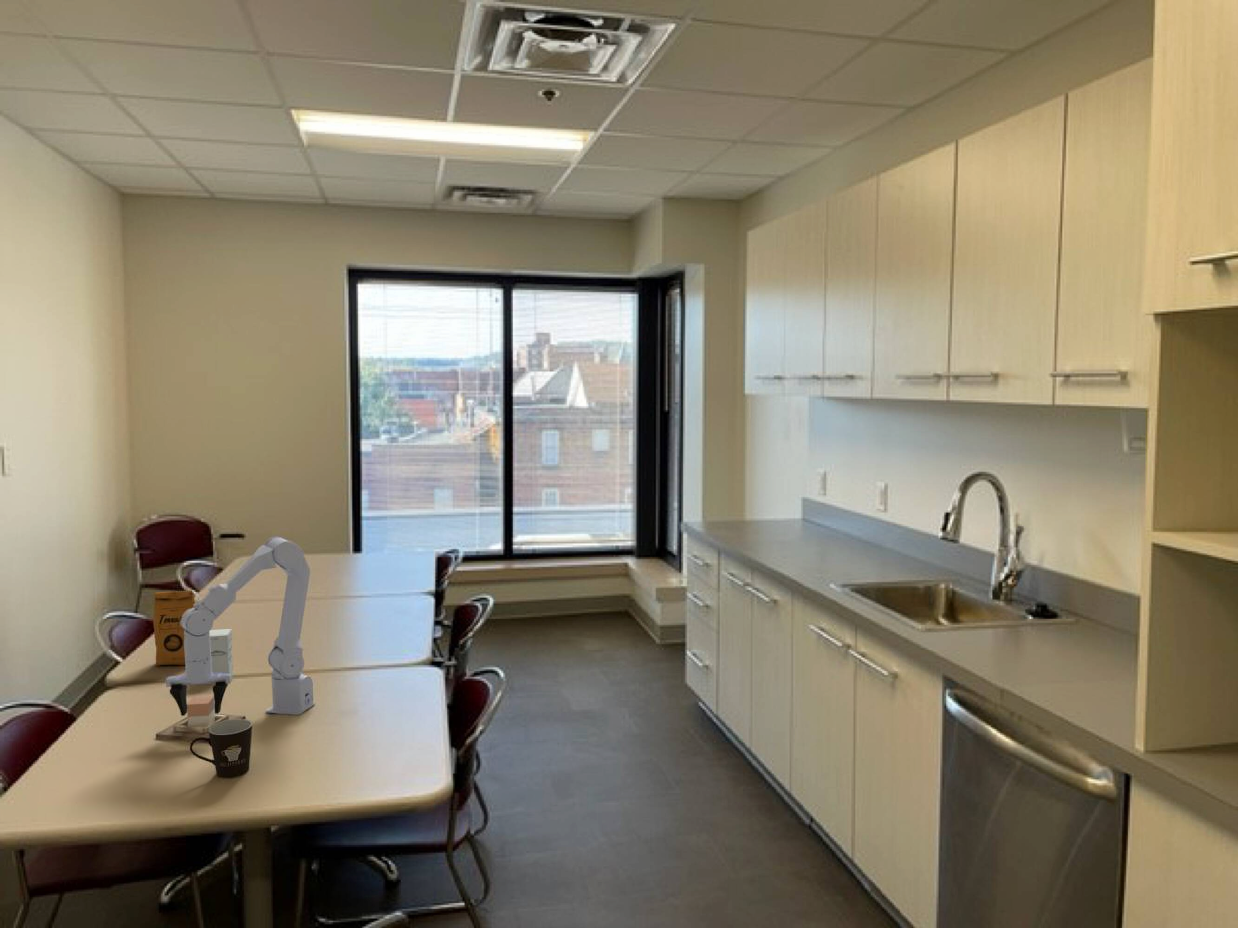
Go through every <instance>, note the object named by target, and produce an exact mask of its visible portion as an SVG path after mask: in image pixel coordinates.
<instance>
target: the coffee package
mask: <svg viewBox="0 0 1238 928" xmlns="http://www.w3.org/2000/svg"><path fill="white" fill-rule="evenodd" d="M153 597H154V605H153V610H154V611H153V618H152V619H153V620H152V621H153V629H154V631H153V632H154V633H153V634H154V641H155V642H154V644H155V645H154V646H155V648H156V650H155V666H175V665H177V666H184V665H185V650H184V640H185V639H184V630H185V629H183V628H182V626H181V624H180V620H181V618H182V615H183V614H184V613H185V612H186V611H187V610H188V609H192V608H195V607H194V606H193V605H194V604H195V603H196V600H195V596H194V592H193V590H181V591H157V592H156V591H155V592H154V596H153Z"/></svg>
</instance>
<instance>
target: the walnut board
mask: <svg viewBox="0 0 1238 928" xmlns="http://www.w3.org/2000/svg"><path fill="white" fill-rule="evenodd" d="M233 719H246V716H245V715H236V714H222V713H218V714H215V721H214V722H213V723H211V724H210V725H208V726H206V727H193V726H188V716H186V717H184V718H183V719H181V720H179V721H177V722H175V723H173V724H172V725H170V726H168V727H166V728H164V729H162V730H161V731H159V732H157V733H155V739H162V740H171V741H172V740H174V741H187V742H192V741H193V740H195V739H196V738H199V737H205V738H210V736H209V728H210V727H211V726H213V725H214V724H217V723H219V722H223V721H227V720H233ZM246 720H247V719H246ZM197 742H199V743H207V742H206V741H204V740H199V741H197ZM197 742H196V743H197Z"/></svg>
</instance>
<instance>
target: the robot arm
mask: <svg viewBox="0 0 1238 928" xmlns="http://www.w3.org/2000/svg"><path fill="white" fill-rule="evenodd" d="M277 566H279V567H280V568H281V570H282V571H283V572H284V573H285V574H286V575H287V577H286V586H285V592H284V600H283V604H282V611H281V617H280V618H281V619H280V622H279V623H280V624H279V629H278V630H279V631H278V636H277V637H276V638H275V640H274V641H273V646H272V649H271V650H270V652H269V654H268V656H267V660H268V661H267V663H268V664H269V666H270V667H271V668H272V672H271V691H272V692H271V695H272V696H271V697H272V706H271V707H269V708H267V709H265V713H269V714H270V713H271V714H280V715H281V714H283V715H293V716H294V715H296V716H298V715H301V714H302V713H304V712H305V711H307V710H308V709H310V708H312V706H314V705H316V702H315V701H314V683H313V679H312V677H311V676H309V675H305V674H303V673H302V671H303V670H304V667H305V659H304V657H303V645H302V644H303V643H302V642H301V636H302V635H301V633H302V627H303V623H304V622H303V621H304V613H305V609H306V608H305V607H306V602H307V601H306V600H307V594H308V588H309V587H308V586H309V581H310V574H311V569H310V566H309V564H308V562H307V560H306V558H305V556H304V550H303V549H302V548H301V547H300V546H299V545H298V544H297V543H296V542H293V541H290V540H287V539H285V538H284V537H280V536H274V537H270V538H269V539H268V540H267V541H265V543H264V544H262V545H261V546H259V547H258V548H257V549H256V551H255V552H254V553H253V555H251V557H250V558H248V560H247V561H245V563H243V565H242V566H241V567H239V569H238V570H237V571H236V573H234V574H233V576H232V577H230V579H228V581H227V582H225V583H219V584H218V583H217V584H216V585H215V586H212V585H211V586H210V588H208V591H209V592H208V593H207V594H206V595H205V596H204V597H203V598H202V599H200V600H199V602H198V603H197V602H195V604H194V605H193V606H194V607H195V608H192V609H188V610H187V611H186V612H185V613H184V614H183V615H182V618H181V620H180V624H181V626H182V628H183V629H185V630H184V639H185V640H184V650H185V674H181V675H180V674H179V675H175V676H174V675H173V676H172V675H171V676H168V677H167V678H165V687H166V688H170V689H169V694H170V695H171V696H172V698H173V699H174V701H175V702H176V704H177V706H178V709H179V712H180V715H181V716H182V717H184V716H186V714H187V704H188V702H187V692H188V691H187V688H188V686H191V685H193V686H194V685H207V684H208V685H209V684H211V685H212V684H214V685H213V686H212V687H211V688H212V692H213V696H214V703H215V714H220V712H221V709H222V704H223V703H222V702H223V700H224V699H223V698H224V695H225V692H226V691H227V687H228V685H229V684H231V683H232V682H233V672H232V673H213V672H212V660H211V641H210V630H212V629H213V626H214V621H216V620H217V619H218V618H219V617H220V616H221V615H222V614H223V613H224V612H225V611H226V610H227V609H228V608H230V606H231V605H232V604H233V603H234V602H235V601H236V598H237V593H238V591H240V590H241V589H242V588H244V587H245V586H246V585H247V584H248V583H249V582H250V581H252V579H254V578H255V577H256V576H257V575H258V574H259V573H260V572H262V571H263V570H271V569H276V568H277Z"/></svg>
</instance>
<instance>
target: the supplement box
mask: <svg viewBox="0 0 1238 928" xmlns="http://www.w3.org/2000/svg"><path fill="white" fill-rule="evenodd" d="M232 632H233V629H232V628H226V629H225V628H222V629H211V630H210V641H211V660H212V672H213V673H232V674H233V671H234V667H233V666H234V664H233V663H234V662H233V661H234V660H233V658H234V657H233V636H232V635H233V633H232Z"/></svg>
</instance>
